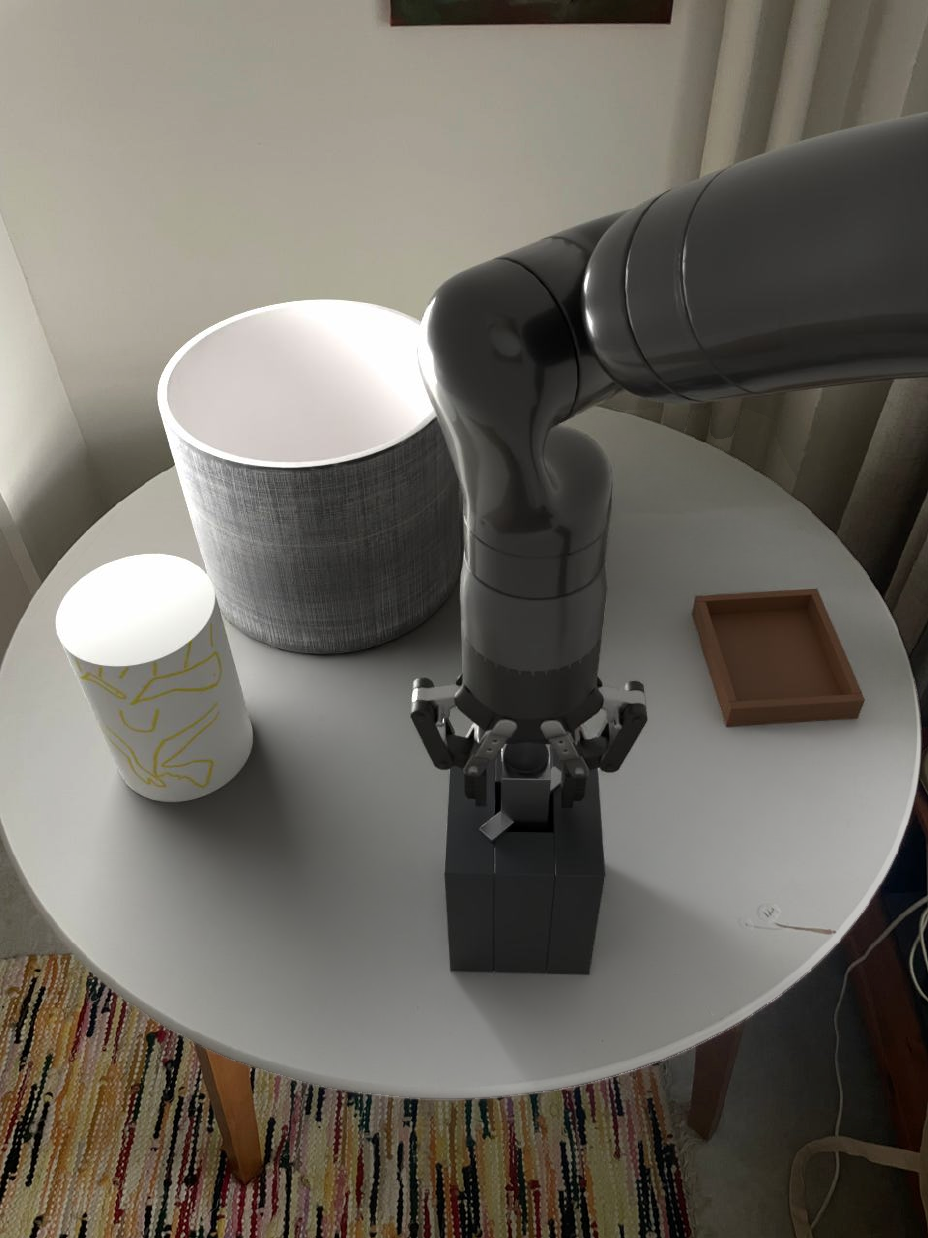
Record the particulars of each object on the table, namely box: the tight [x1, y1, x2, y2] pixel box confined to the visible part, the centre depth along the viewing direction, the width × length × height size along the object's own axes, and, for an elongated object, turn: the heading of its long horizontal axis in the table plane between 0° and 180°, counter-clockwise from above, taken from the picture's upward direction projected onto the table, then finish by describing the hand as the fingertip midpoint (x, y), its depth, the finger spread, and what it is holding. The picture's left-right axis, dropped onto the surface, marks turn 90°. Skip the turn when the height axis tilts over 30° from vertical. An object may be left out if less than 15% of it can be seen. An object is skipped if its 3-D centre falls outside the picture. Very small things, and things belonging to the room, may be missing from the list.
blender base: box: [443, 744, 606, 976], centre depth 72 cm, size 10×10×14 cm
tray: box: [691, 588, 866, 728], centre depth 93 cm, size 14×12×2 cm
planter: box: [157, 299, 462, 655], centre depth 96 cm, size 25×25×22 cm
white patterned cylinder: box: [55, 553, 254, 803], centre depth 82 cm, size 12×12×17 cm
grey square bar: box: [479, 742, 562, 844], centre depth 68 cm, size 6×6×15 cm
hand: (524, 795), depth 66 cm, fingers open, 5 cm apart
